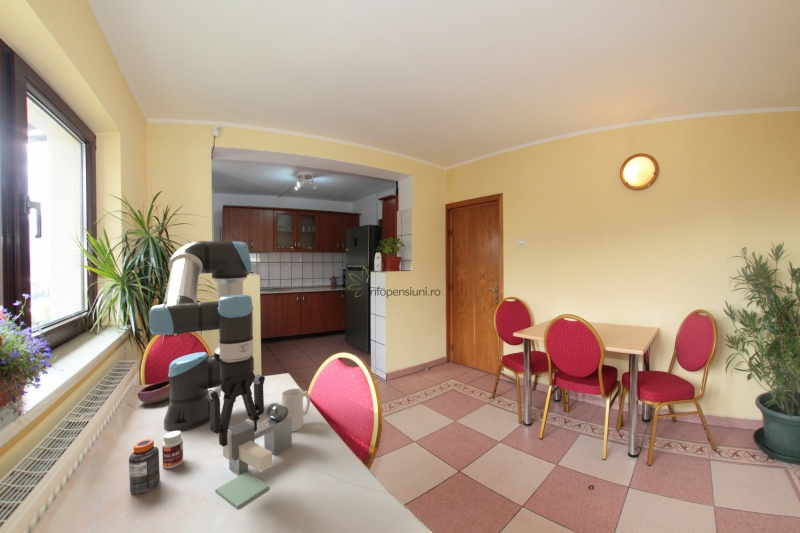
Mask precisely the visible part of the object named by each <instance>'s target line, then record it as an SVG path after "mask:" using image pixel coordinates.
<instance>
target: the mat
mask: <svg viewBox="0 0 800 533" xmlns="http://www.w3.org/2000/svg"><path fill="white" fill-rule="evenodd" d="M269 489H270V485H268V484H267V483H265V482H263V481H262V480H260V479H259V478H257V476H254V475H253V474H251V473H249V471H247V472H245V473H243V474H241V475H240V476H239V475H237V477H234V478H233V479H231V480H230V481H228V482H225V483H224V484H222V485H221V486H219V487H217V488H216V489H215V493H217V494H218V495H219V496H220V497H221V498H222V499H224V500H225V501H227V503H228V504H231V505H232V506H233V507H234V508H235V509H237V510H238V509H240V508H241V507H242V506H244V505H245V504H247V503H248V502H251V501H252V500H253V499H254V498H256V497H257V496H259V495H261V494H263V493H264V492H265V491H267V490H269Z"/></svg>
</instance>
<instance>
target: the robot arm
mask: <svg viewBox="0 0 800 533" xmlns="http://www.w3.org/2000/svg"><path fill="white" fill-rule="evenodd" d="M250 255H251V254H250V251H249V247H248V244H246V243H245V242H243V241H235V240H231V241H229V240H225V241H222V240H221V241H220V240H219V241H218V240H217V241H215V240H211V241H210V240H207V241H206V240H197V241H193V242H190V243H187V244H185V245H183V246H181V247H180V248H178V249H177V250H176V251H175V252H173V254H172V255H171V256H170V258H169V261H168V263H167V269H168V271H169V277H168V281H167V286H166V291H165V295H164V299H163V303H162V304H156V305H153V306H152V307H150V309H149V313H148V325H149V331H150V334H152V335H154V336H162V335H163V336H164V335H169V336H172V335H179V334H187V333H194V332H203V331H204V332H205V331H213V330H214V331H215V330H217V334H218V335H217V336H218V338H217V339H218V341H217V342H218V343H217V344H218V346H217V347H216V348H214V350H213V355H208V353H207V352H205V351H201V352H199V351H198V352H194V353H190V354H186V355H183V356H180V357H177V358H176V359H174V360H172V361H171V362H170V364H169V365H168V374H167V377H168V380H169V404H168V407H167V410H166V413H165V416H164V419H163V429H164V430H166V429H167V430H166V431H170V432H172V431H181V432H182V431H187V430H192V429H194V428H197V427H200V426H202V425H205V424H207V423H208V422H209V430H210V432H212V433H214V434H216V435H217V434H218V439H219V440H218V441H219V442H218V443H219V445H220V446H221V447H222V456H223V457H224V458H225V459H227V460H228V461H229V460H230V459H232V435H231V434H232V431H230V430H228V428H229V427H230V422H231V419H232V414H233V408H234V403H236V400H237V397H239V396H241V398H242V400H243V404H244V407H245V410H246V414H247V417H248V418H247V419H245V421H244V422H246V423H248V424H250V425H252V426H254V432H256V431H257V423H258V421H259V420H260V416H262V415H264V413H265V401H264V400H265V398H264V395H265V394H264V383H265V380H266V377H265V376H264V375H260V374H256V375H255V373H254V370H255V368H254V367H255V362H254V361H255V358H254V334H253V332H254V331H253V330H254V329H253V326H254V323H253V322H254V321H253V319H254V318H253V316H254V314H253V311H254V305H253V299H252V296H251V295H249V294H244V282H245V280H246V279H247V278H248V274H250V273H251V272H252V262H251V256H250ZM200 274H211V279H212V280H214V282H216V292H217V293H216V295H217V298H216V299H217V300H216V301H215V300H213V301H201V302H200V301H199V302H198V293H199V292H198V291H199V277H200ZM252 384H253V392H252V389H251V387H252ZM221 392H223V398H222V399H223V405H222V408H221Z"/></svg>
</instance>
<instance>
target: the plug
mask: <svg viewBox="0 0 800 533" xmlns="http://www.w3.org/2000/svg"><path fill="white" fill-rule="evenodd" d="M228 430H230V431H232V434H231V435H232V459H233V460H234V461H235V460H237V459H240V460H242V461H244V462H245V463H247V464H248V466H250V467H251V468H253V469H255V470H256V471H258V472H260V473H261V472H263V471H265V470H266V469H268V468H270V467H272V466H273V455H272V452H271V451H269V450H267V449H266V448H265V446H262V445H260V444H258V443H257V442H255V440H256V439H254V426H252V425H250V424H248V423H246V422H245V421H241V422H238V423H236V424H234V425H231V426H229V428H228Z"/></svg>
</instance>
